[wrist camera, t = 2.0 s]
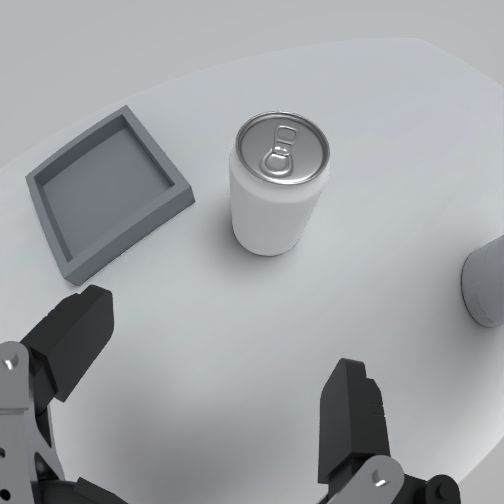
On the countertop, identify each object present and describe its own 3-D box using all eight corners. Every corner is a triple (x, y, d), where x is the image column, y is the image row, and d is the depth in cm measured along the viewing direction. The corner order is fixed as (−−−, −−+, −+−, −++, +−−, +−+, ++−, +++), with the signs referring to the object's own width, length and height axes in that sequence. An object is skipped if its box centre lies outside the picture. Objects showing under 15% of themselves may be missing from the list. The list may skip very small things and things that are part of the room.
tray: (133, 121, 32) (126, 104, 30) (195, 201, 29) (190, 186, 26) (37, 189, 29) (25, 176, 27) (79, 286, 26) (63, 278, 23)
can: (223, 246, 28) (212, 174, 17) (243, 186, 30) (246, 97, 19) (292, 266, 28) (328, 205, 16) (308, 204, 30) (342, 122, 18)
